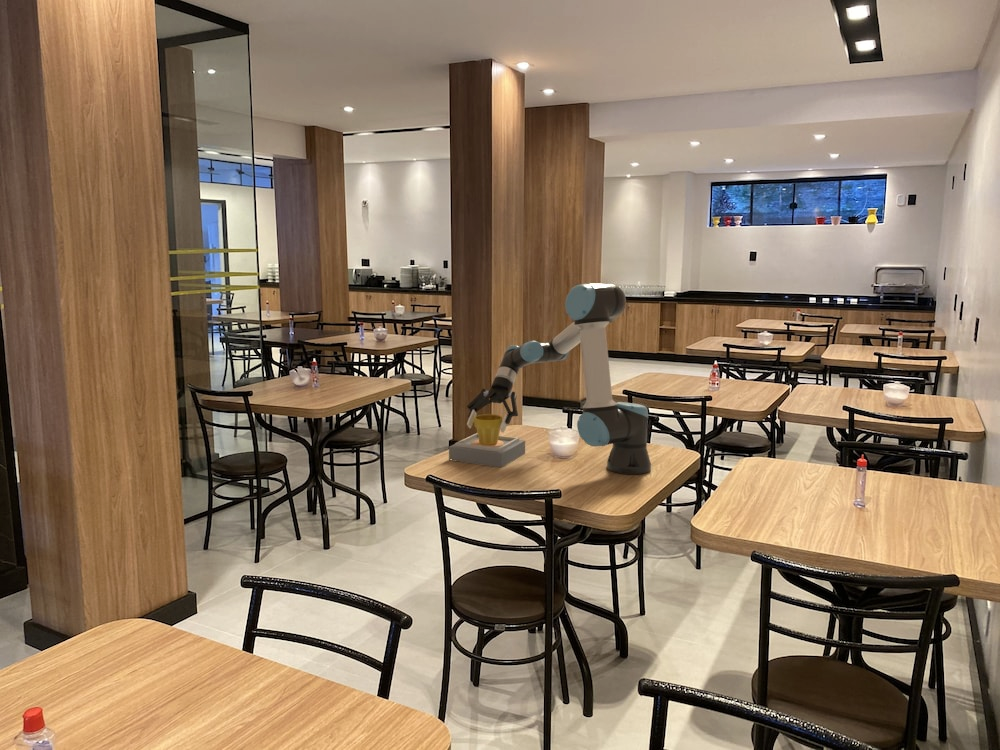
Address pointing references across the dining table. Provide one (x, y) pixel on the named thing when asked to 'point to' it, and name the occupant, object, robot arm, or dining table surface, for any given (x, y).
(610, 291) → the robot arm
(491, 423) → the plant pot
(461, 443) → the grey square tray
